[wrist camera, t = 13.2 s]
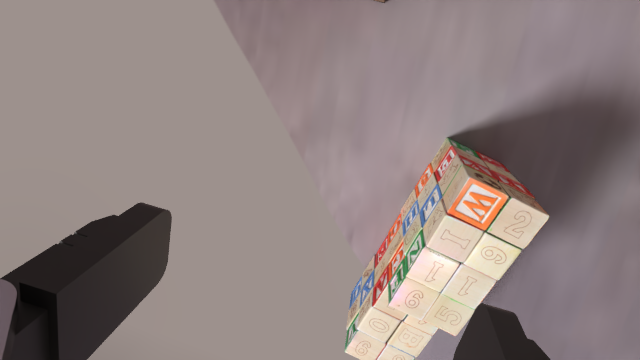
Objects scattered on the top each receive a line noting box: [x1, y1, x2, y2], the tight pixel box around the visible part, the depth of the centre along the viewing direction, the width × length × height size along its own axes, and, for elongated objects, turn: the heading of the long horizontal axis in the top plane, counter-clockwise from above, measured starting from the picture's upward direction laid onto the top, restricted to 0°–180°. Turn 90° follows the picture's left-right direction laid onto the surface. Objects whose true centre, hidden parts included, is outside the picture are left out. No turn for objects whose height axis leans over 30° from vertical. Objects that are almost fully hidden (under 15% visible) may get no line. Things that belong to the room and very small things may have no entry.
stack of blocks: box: [345, 138, 549, 360], centre depth 36 cm, size 21×6×12 cm, turn 156°
